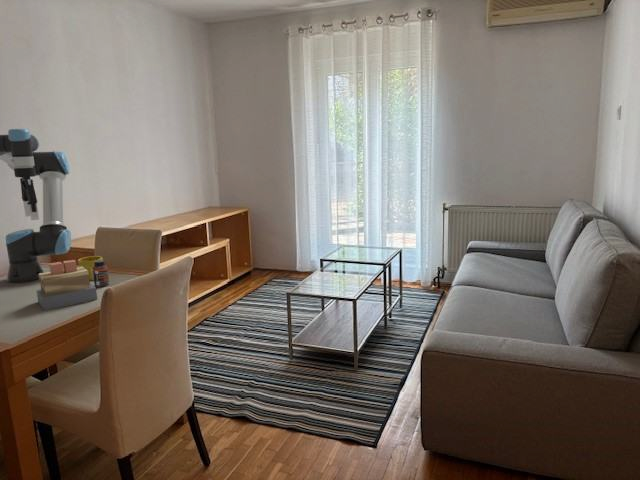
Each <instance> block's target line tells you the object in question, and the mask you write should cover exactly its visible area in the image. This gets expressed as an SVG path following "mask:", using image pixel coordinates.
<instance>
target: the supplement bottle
mask: <svg viewBox="0 0 640 480" xmlns="http://www.w3.org/2000/svg"><path fill="white" fill-rule="evenodd" d="M94 263H95V266H94V267H93V276H94V280H93V282H94V283H93V284H94V287H96V288H102V287H103V288H105V287H106V286H109V285H110V279H109V271H108V266H107V265H106V264H105V260H98V261H95V262H94ZM104 286H105V287H104Z"/></svg>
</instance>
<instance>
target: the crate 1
mask: <svg viewBox="0 0 640 480" xmlns="http://www.w3.org/2000/svg"><path fill="white" fill-rule="evenodd" d="M48 264H49V270H50V271H49V272H51V274H52V275H57V274H62V273H64V270H63V269H64V266H63V262H61V261H57V262H51V263H48Z"/></svg>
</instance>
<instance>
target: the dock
mask: <svg viewBox="0 0 640 480" xmlns="http://www.w3.org/2000/svg"><path fill="white" fill-rule="evenodd" d="M36 297H37V302H38V304H39V305H40V306H41V308H42V309H43V311H49V310H53V309H59V308H63V307H68V306H73V305H77V304H82V303H87V302H91V301H97V300H98V293H97V287H96V286H95V285H93V284H92V283H91V282H90V288H85V289H79V290H74V291H69V292H64V293H59V294H54V295H49V296H45V293H43V291H41V288H40V289H36Z"/></svg>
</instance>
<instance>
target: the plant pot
mask: <svg viewBox="0 0 640 480" xmlns="http://www.w3.org/2000/svg"><path fill="white" fill-rule="evenodd" d="M98 260H103V257H102V256H100V255H93V256H85V257H81V258H79V259H78V260H77V266H78V267H81V266H82V267H84V268H85V269H87V270H88V273H89V280H90V281H94V276H93V267H94V266H95V263H94V262H95V261H98Z"/></svg>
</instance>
